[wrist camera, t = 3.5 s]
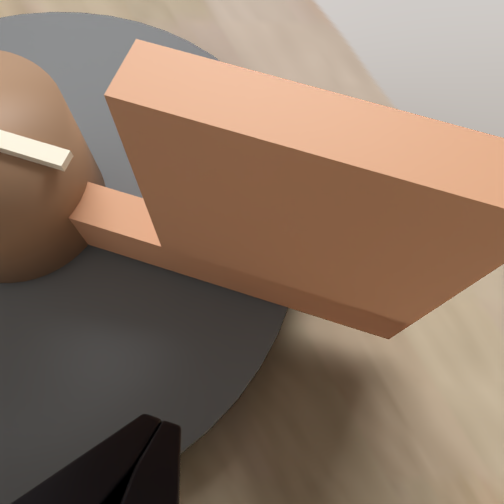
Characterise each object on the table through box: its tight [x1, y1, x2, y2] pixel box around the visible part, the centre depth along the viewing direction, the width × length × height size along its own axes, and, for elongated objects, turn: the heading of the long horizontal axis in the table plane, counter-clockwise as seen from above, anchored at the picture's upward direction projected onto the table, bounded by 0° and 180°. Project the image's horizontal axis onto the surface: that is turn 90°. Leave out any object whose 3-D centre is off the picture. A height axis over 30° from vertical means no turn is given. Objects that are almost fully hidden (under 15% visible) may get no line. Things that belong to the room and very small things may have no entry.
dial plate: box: [0, 12, 288, 504], centre depth 20 cm, size 24×24×2 cm
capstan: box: [0, 39, 504, 339], centre depth 14 cm, size 20×7×10 cm, turn 72°
